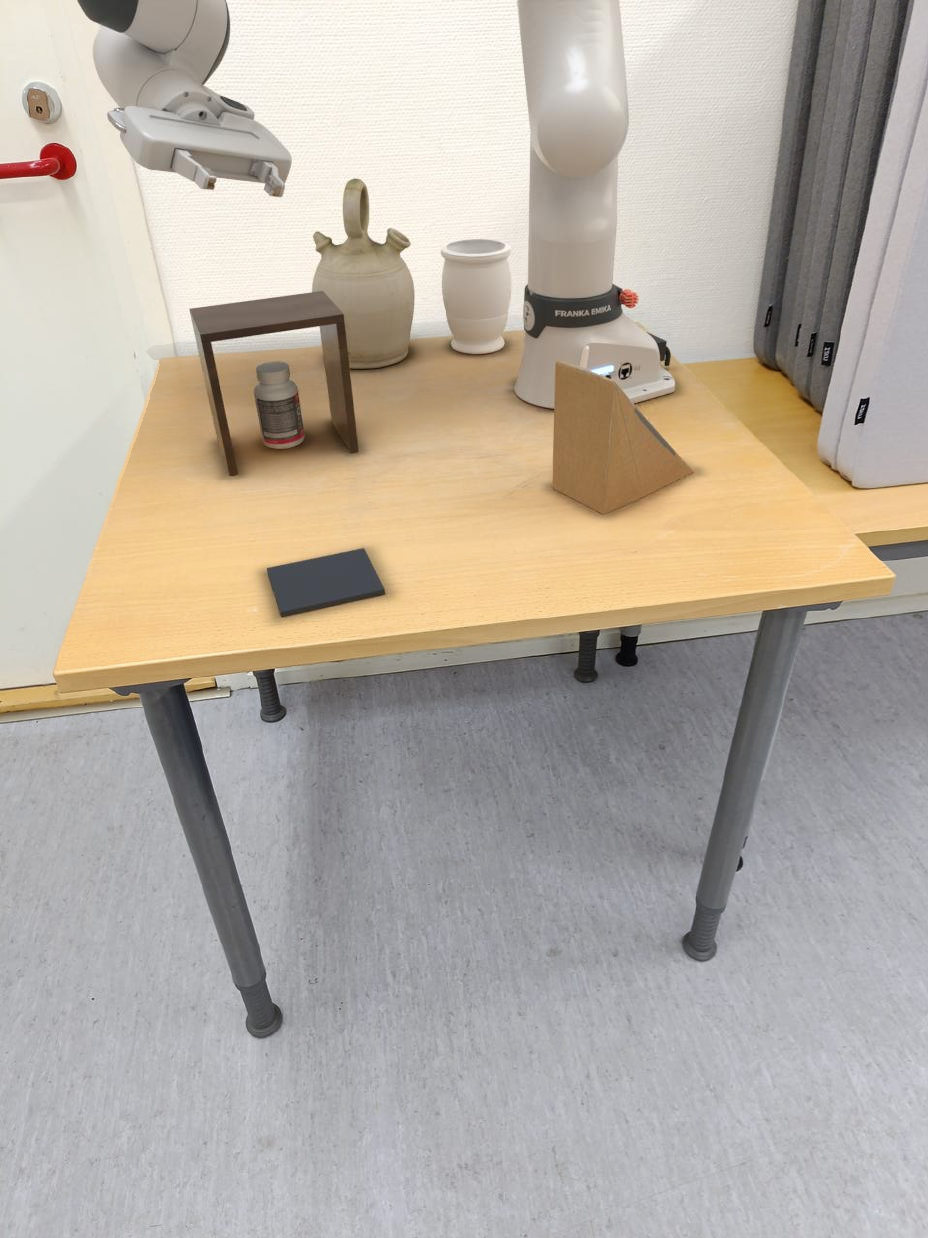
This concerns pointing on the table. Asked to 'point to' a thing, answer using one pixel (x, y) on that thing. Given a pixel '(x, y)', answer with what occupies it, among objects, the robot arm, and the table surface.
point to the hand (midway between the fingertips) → (245, 187)
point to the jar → (476, 293)
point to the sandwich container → (606, 443)
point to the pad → (324, 582)
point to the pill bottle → (278, 406)
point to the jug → (367, 285)
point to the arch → (273, 319)
